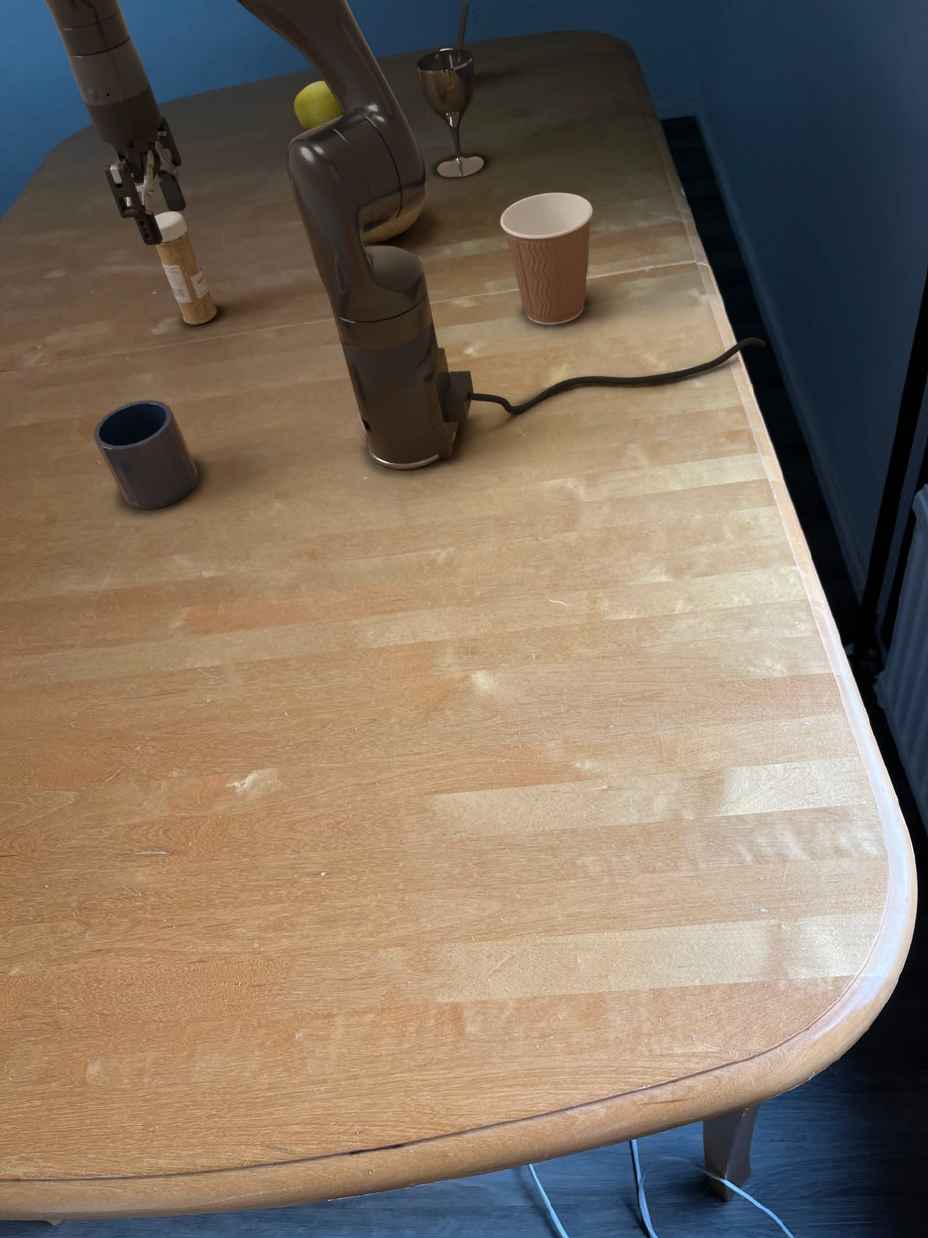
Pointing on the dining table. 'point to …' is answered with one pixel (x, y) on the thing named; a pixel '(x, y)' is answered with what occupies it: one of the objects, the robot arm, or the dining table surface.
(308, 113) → the apple
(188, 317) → the sprinkles bottle
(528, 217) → the coffee cup
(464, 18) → the dark thin bar
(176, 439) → the holder cup
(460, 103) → the wine glass
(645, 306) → the dining table surface
